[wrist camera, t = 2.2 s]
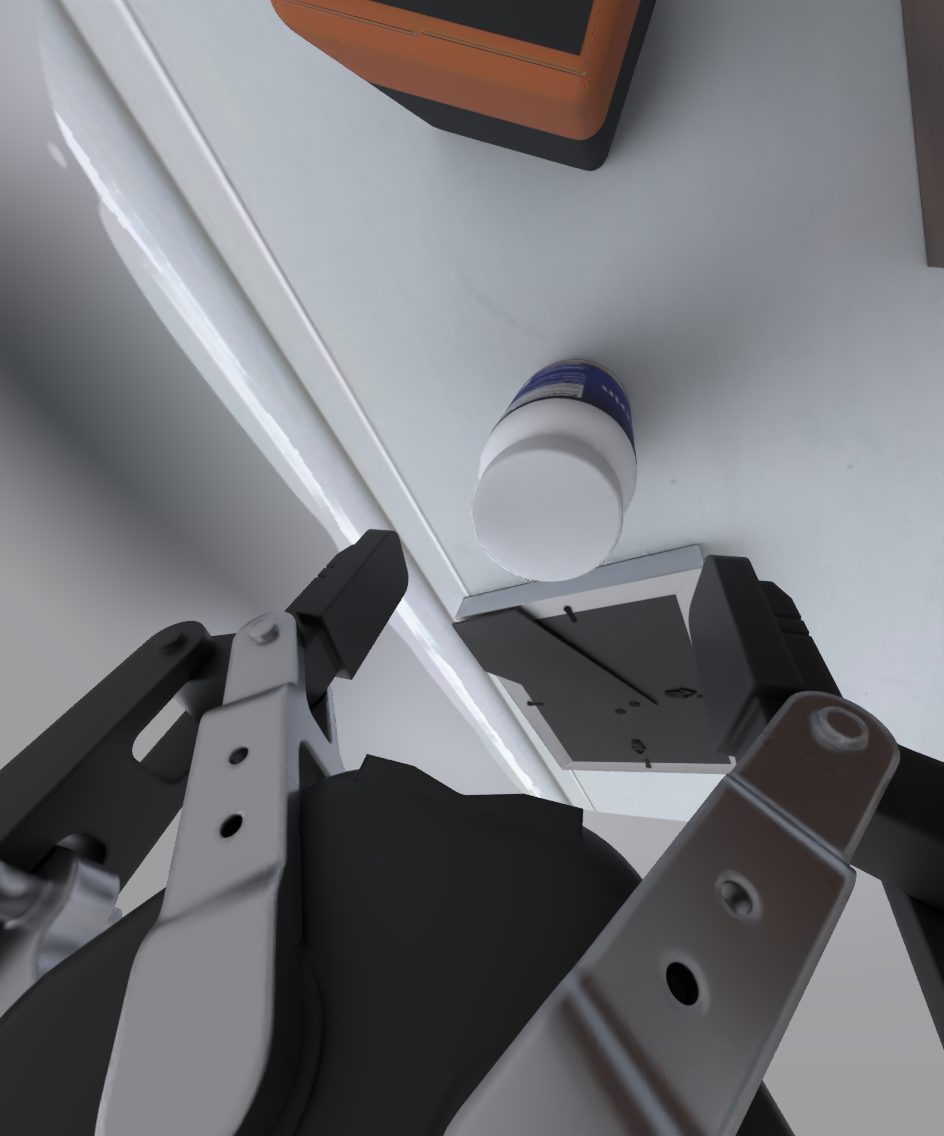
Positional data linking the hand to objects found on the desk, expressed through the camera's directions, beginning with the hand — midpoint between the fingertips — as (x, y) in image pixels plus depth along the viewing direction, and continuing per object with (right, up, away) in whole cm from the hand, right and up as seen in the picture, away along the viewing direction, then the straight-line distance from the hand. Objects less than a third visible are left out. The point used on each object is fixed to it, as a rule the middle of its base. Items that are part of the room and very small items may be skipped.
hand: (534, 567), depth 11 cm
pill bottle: (+3, +7, +9) cm, 12 cm away
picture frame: (+9, -8, +20) cm, 23 cm away
